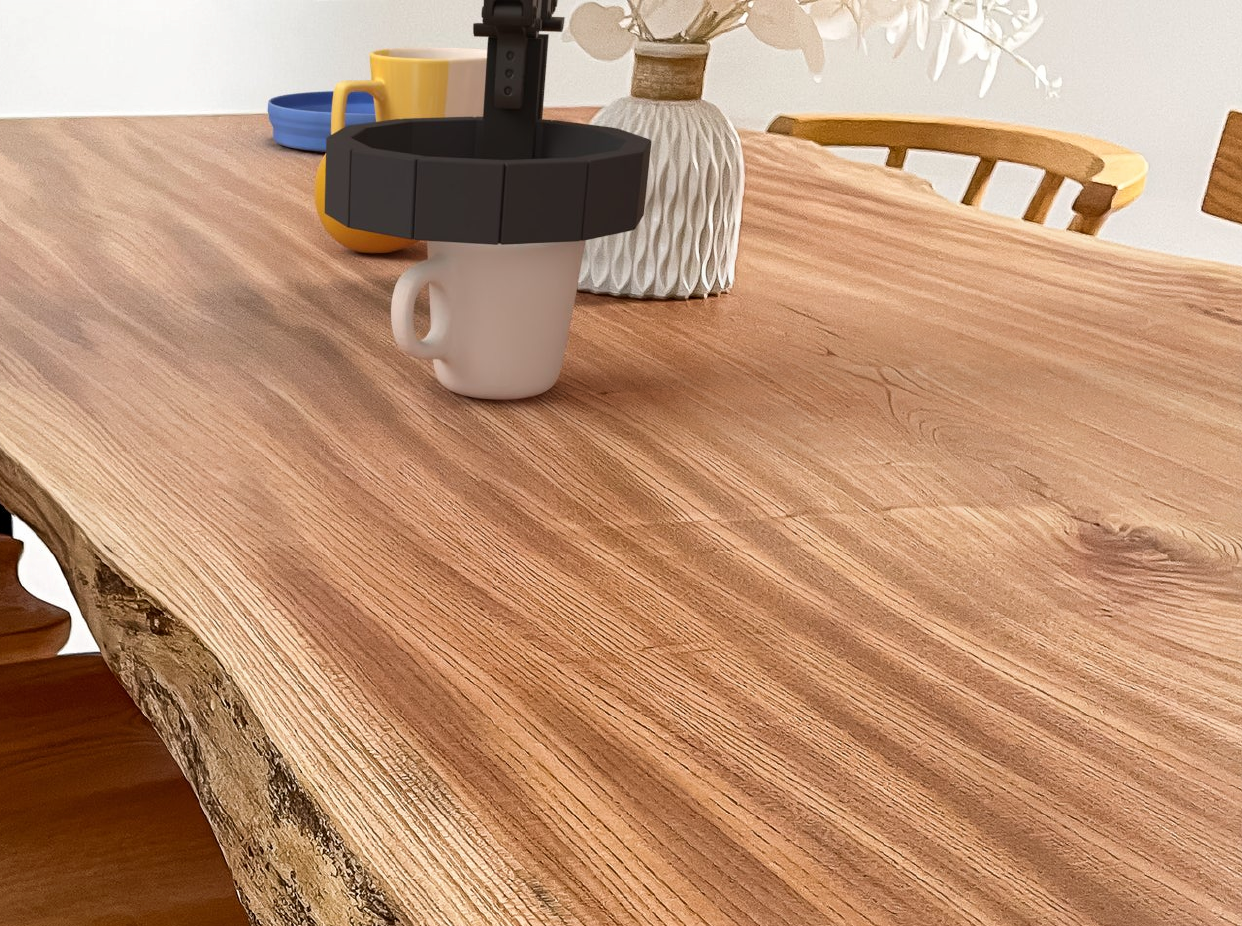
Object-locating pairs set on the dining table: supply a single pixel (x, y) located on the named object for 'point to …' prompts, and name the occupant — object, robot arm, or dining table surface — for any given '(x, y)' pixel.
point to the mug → (419, 84)
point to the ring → (485, 182)
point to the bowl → (314, 117)
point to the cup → (492, 315)
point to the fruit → (353, 237)
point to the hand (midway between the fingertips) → (509, 172)
